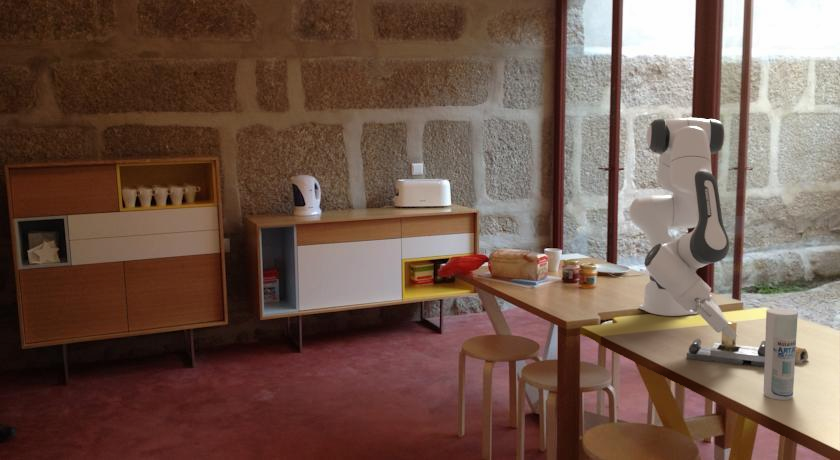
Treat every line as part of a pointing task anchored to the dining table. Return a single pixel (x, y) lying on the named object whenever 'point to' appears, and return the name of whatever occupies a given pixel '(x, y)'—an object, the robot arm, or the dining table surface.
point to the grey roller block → (728, 354)
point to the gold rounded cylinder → (729, 343)
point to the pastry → (800, 355)
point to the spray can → (780, 353)
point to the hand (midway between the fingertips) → (731, 332)
